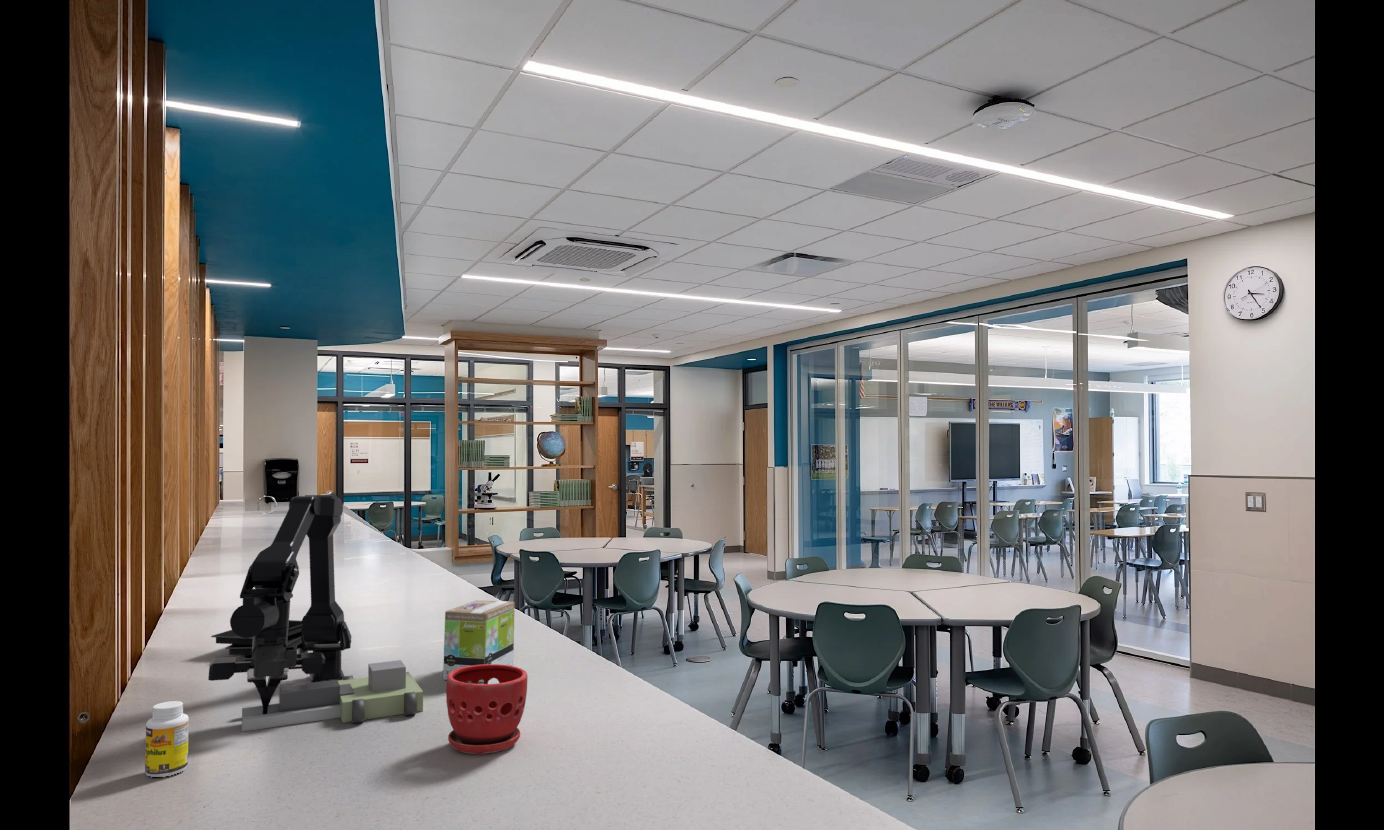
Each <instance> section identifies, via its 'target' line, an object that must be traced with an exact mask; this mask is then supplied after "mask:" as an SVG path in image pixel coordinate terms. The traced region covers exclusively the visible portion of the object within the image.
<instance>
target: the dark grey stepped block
mask: <svg viewBox="0 0 1384 830" xmlns="http://www.w3.org/2000/svg"><path fill="white" fill-rule="evenodd" d="M338 681H339V679H336V680H328V681H320V682H307V683H298V684H293V681H283V682H280V683H279V686H278V701H279V712H286V711H294V710H301V709H308V708H316V707H323V706H330V705H338V704H340V685H339V682H338Z"/></svg>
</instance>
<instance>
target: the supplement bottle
mask: <svg viewBox="0 0 1384 830" xmlns="http://www.w3.org/2000/svg"><path fill="white" fill-rule="evenodd" d="M189 719H190V718H189V715H188V714H186V713H184V703H183V702H182V701H179V700H174V701H173V700H172V701H171V700H170V701H163V702H160V703H157V704H155V705H153V706H152V717H150V718H149V719H148V721H147V722H146V723H145V753H144V754H145V755H144V757H145V758H144V760H145V762H144V772H145V776H147V777H148V776H151V777H150V778H152V777H163V778H165V777H164V776H169V777H172V776H171V775H173V774H176V775H178V774H177V773H179V774H181V773H183V772H184V771H185V770H186V769H187V768H188V765H189V764H188V763H189V726H190V723H189V722H190V720H189ZM182 771H183V772H182ZM180 772H181V773H180ZM173 776H174V775H173Z"/></svg>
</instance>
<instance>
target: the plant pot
mask: <svg viewBox="0 0 1384 830" xmlns="http://www.w3.org/2000/svg"><path fill="white" fill-rule="evenodd" d="M491 679H496V680H497V681H498V683H489V680H491ZM479 680H483V681H484V682H483V683H480V682H479ZM468 681H471V682H468ZM445 687H446V688H445V690H446V691H445V693H446V695H445V696H446V707H447V716H448V719H449V724H450V726H451V728H452V730H451V731H450V732H449V734H448V735H447V740H448V742H449V744H450V747H452V748H453V749H455V750H456V751H458V752H462V753H464V754H465V753H466V754H469V755H485V754H486V755H487V754H493V753H498V752H502V751H504V750H507V749H510V747H513V745H514V744H516V743H517V742H518V740H519V739H520V738H521V730H520V728H518V726H519V724H520V722H521V719H522V717H523V715H524V711H525V706H526V701H527V694H528V693H527V692H528V673H527V672H526V670H525V669H523V668H521V667H518V666H513V665H512V666H510V665H501V664H483V665H473V666H466V667H462V668H458V669H456V670H454V671H452V672H450V673H449V674H448V676H447V680H446V686H445Z"/></svg>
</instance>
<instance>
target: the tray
mask: <svg viewBox="0 0 1384 830" xmlns="http://www.w3.org/2000/svg"><path fill="white" fill-rule="evenodd" d="M301 628H302V620H298V619H297V620H293V619H289V628H288V642H287V647H290V646H297V647H298V646H300V645H302V644H301V643H302V638H301ZM210 637H211V638H215V644H222V645H228V646H225V648H224V649H225V650H228V655H229V656H242V658H241V660H242V661H244V662H246V661H251V657H250V658H249V657H247V655H248V656H251V655H252V645H253V637H250V638H243V637H240V636H237V635H236V634H235V633H234V632H233V630H232V629H230V630H226V631H223V632H220V633H216V634H213V635H210ZM303 653H309V651H303ZM297 658H301V652H300V653H297Z"/></svg>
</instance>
